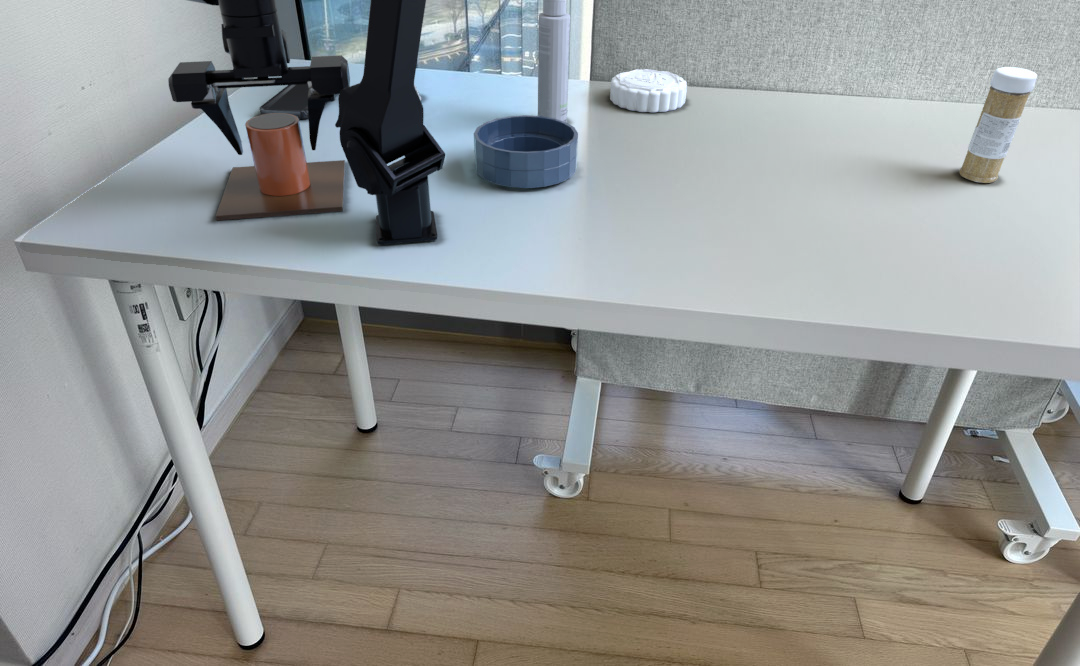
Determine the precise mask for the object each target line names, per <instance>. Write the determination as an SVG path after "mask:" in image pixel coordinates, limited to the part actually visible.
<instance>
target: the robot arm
mask: <svg viewBox="0 0 1080 666" xmlns="http://www.w3.org/2000/svg"><path fill="white" fill-rule="evenodd" d="M186 1H188V2H193V3H199V4H204V5H210V6H217V7H219V11H220V16H221V19H222V23H221V36H222V37H221V38H222V44H223V49H224V53H226V54H228V55H229V56H230V60H231V65H232V69H219V70H216V67H215V65H214V63H213V61H212V60H206V61H205V60H203V61H182V62H181V61H180V62H179V63H178V64H177V66H176V67H175V68H174V69H173V71H172V73H171V74H170V76H169V77H168V78H167V80H168V81H167V83H168V88H169V93H170V96H171V100H172V101H173V102H176V103H189V102H190V106H191V108H192V109H193V110H201V111H202V112H203V113H204V114H205V115H206V116H207V118H209V119H210V120H211V121H212V122H213V124H215V126H216V127H217V128H218V129H219V131H220V132H221V133H222V134H223V136H224V137H225V139H226V140H227V141H228V142H229V145H231V147H232V148H233V150H234V151H235V152H236V154H237V155H238V156H242V155H243V153H244V149H243V143H242V139H241V135H240V132H239V129H238V127H237V124H236V121H235V118H234V115H233V112H232V108H231V106H230V101H229V95H228V89H236V88H237V89H239V88H257V87H259V88H260V87H277V86H288V85H302V84H308V88H309V93H308V98H307V101H308V118H307V119H308V133H309V134H308V135H309V136H308V137H309V143H310V148H311V151H316V150H317V142H318V136H319V129H320V128H319V127H320V123H321V119H322V115H323V112H324V110H325V107H326V104H327V103H331V102H334V101H335V100H336V95H338V98H337V100H338V101H337V102H338V103H337V104H338V115H337V120H336V122H335V123H334V126H335V127H336V128H339V142H340V146H341V148H342V151H343V153H344V156H345V158H346V160H347V163H348V166H349V168H350V171H351V173H352V175H353V178H354V181H355V183H356V186H357V187H358V188H360V189H363V190H365V191H366V192H367V195H370V196H375V201H376V208H377V209H376V210H377V214H376V215H375V233H376V234H375V235H376V236H375V237H376V244H377V245H380V246H383V245H384V246H385V245H394V244H395V245H396V244H405V243H407V244H408V243H419V242H430V241H437V240H438V239H439V238H438V237H439V236H438V230H437V225H436V224H437V223H436V218H435V213H434V211H433V210H432V209H431V197H430V196H431V195H430V186H429V185H430V184H429V176H430V175H432V174H434V173H436V172H439V171H441V170H443V167H444V163H445V159H446V153H445V151H444V149H442V147H441V146H440V145H439V143H438V142H437V141H436V139H435V138H434V136H433V135H432V134H431V133H430V131H429V130H428V128H427V127H426V126H425V124H424V105H423V102H422V99H421V100H420V98H419V96H418V93H417V91H416V89H417V88H416V89H415V87H414V85H415V78H416V71H417V65H418V58H419V50H420V44H421V36H422V31H423V23H424V16H425V12H426V11H425V10H426V3H427V0H370V3H369V12H368V13H369V14H368V23H367V33H366V42H365V43H366V44H365V55H364V64H363V74H362V78H361V80H360V81H359V82H358V83H355V84H353V85H351V75H350V68H349V67H350V66H349V62H348V60H347V59H346V58H345V57H344V55H341V54H340V55H321V56H317V55H316V56H311V59H310V65H309V66H308V65H306V66H289V65H288V64H290V63H291V55H290V51H289V45H288V39H287V32H286V31H284V30H283V29H282V27H281V22H280V18H279V12H278V6H277V1H276V0H186ZM326 102H327V103H326ZM394 161H395V162H394ZM392 162H393V163H392ZM388 164H389V165H388Z"/></svg>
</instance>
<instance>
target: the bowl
mask: <svg viewBox="0 0 1080 666" xmlns="http://www.w3.org/2000/svg"><path fill="white" fill-rule="evenodd" d="M578 143H579V132H578V130H577V129H576V127H574V126H573V125H571V124H570V123H568V122H564V121H561V120H558V119H554V118H549V117H543V116H538V115H527V114H523V115H509V116H503V117H497V118H493V119H490V120H488V121H485V122H483V123H481V124H480V125H479V126H477V127H476V128H475V130H474V132H473V150H474V152H473V153H474V168H475V171H476V174H477V175H478V176H479V177H481V178H482V179H483V180H485V181H486V182H489V183H492V184H495V185H497V186H503V187H507V188H519V189H520V188H521V189H534V188H545V187H549V186H553V185H558V184H561V183H562V182H565V181H567V180H570V178H572V176H574V175H575V174H576V171H577V166H578V148H579V146H578V145H579V144H578Z"/></svg>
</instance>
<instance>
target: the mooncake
mask: <svg viewBox="0 0 1080 666" xmlns="http://www.w3.org/2000/svg"><path fill="white" fill-rule="evenodd" d="M687 90H688V82H687V81H686V80H685V79H684V78H683V77H681V76H679V75H678V74H676V73H672V72H670V71H666V70H665V71H663V70H656V69H650V68H646V69H641V68H640V69H639V68H636V69H633V70H630V71H624V72H619V73H618V74H615V76H613V77H612V78H611V80H610V92H609V93H610V94H609V99H610V101H611V102H612V104H613V105H615V106H618V107H619V108H621V109H626V110H628V111H633V112H635V111H636V112H639V113H650V114H651V113H655V114H656V113H666V112H669V111H670V112H671V111H675V110H676V109H680V108H681V107H683V105H685V103H686V100H687V99H686V98H687Z"/></svg>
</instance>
